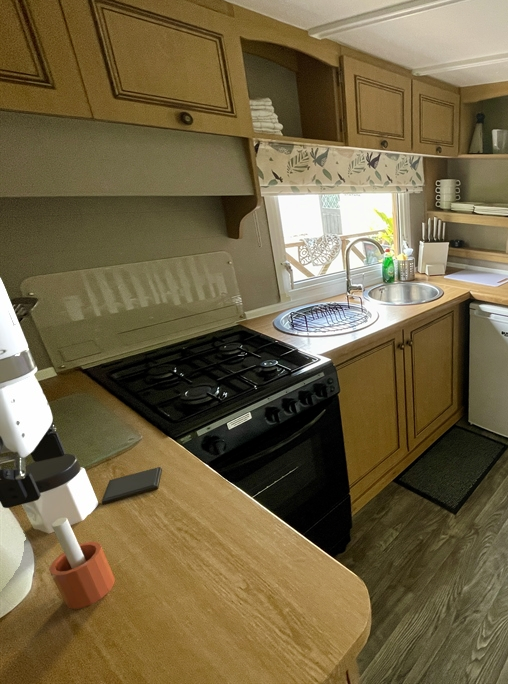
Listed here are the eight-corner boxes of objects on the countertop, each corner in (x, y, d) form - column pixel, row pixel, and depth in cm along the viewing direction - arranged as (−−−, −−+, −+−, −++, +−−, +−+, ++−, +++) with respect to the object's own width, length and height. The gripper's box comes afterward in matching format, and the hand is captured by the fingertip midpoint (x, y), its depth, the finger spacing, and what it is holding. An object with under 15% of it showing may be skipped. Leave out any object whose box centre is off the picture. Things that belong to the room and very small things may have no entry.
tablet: (102, 505, 76) (101, 501, 75) (110, 483, 81) (109, 479, 81) (158, 488, 80) (157, 485, 80) (162, 469, 86) (161, 465, 86)
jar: (24, 527, 70) (-2, 477, 66) (77, 496, 78) (57, 449, 73) (56, 540, 68) (32, 488, 64) (107, 506, 75) (88, 459, 71)
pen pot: (62, 618, 56) (43, 581, 53) (73, 586, 60) (56, 551, 58) (111, 599, 59) (95, 563, 56) (119, 570, 63) (104, 536, 60)
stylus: (82, 597, 58) (49, 528, 53) (86, 588, 60) (54, 519, 54) (95, 593, 59) (64, 524, 54) (99, 584, 60) (69, 516, 55)
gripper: (-23, 348, 50) (24, 451, 56) (-112, 410, 37) (-38, 537, 43) (55, 339, 54) (91, 437, 60) (0, 393, 41) (54, 512, 47)
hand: (37, 478), depth 51 cm, fingers open, 9 cm apart
